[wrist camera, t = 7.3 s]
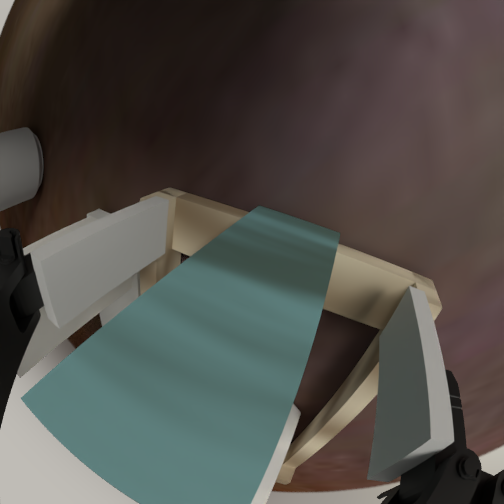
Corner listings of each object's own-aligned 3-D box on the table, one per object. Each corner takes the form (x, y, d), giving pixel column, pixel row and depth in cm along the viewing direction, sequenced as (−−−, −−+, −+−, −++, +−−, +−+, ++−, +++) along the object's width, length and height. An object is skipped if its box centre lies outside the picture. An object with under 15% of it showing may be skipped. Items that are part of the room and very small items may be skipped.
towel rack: (170, 178, 14) (-48, 277, 4) (436, 271, 11) (483, 545, 1) (166, 393, 24) (99, 476, 14) (298, 451, 21) (254, 553, 11)
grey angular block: (99, 208, 17) (-36, 277, 8) (149, 229, 16) (-8, 328, 7) (127, 391, 29) (75, 449, 19) (159, 411, 28) (108, 476, 18)
